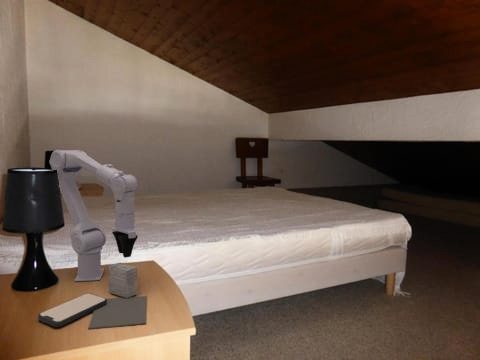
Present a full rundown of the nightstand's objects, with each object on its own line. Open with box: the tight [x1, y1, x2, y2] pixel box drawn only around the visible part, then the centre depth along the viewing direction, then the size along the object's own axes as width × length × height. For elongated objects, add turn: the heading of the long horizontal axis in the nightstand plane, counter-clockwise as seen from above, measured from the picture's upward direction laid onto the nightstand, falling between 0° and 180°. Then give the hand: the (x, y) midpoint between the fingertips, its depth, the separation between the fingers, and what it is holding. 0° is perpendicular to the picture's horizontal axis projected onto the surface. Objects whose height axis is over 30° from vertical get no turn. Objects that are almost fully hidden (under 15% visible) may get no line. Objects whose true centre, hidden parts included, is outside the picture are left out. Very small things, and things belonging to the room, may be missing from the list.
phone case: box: [37, 292, 108, 328], centre depth 97 cm, size 9×2×16 cm
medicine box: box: [108, 262, 138, 298], centre depth 108 cm, size 8×4×9 cm, turn 59°
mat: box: [87, 295, 148, 330], centre depth 98 cm, size 16×14×1 cm
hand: (124, 254), depth 114 cm, fingers open, 4 cm apart
